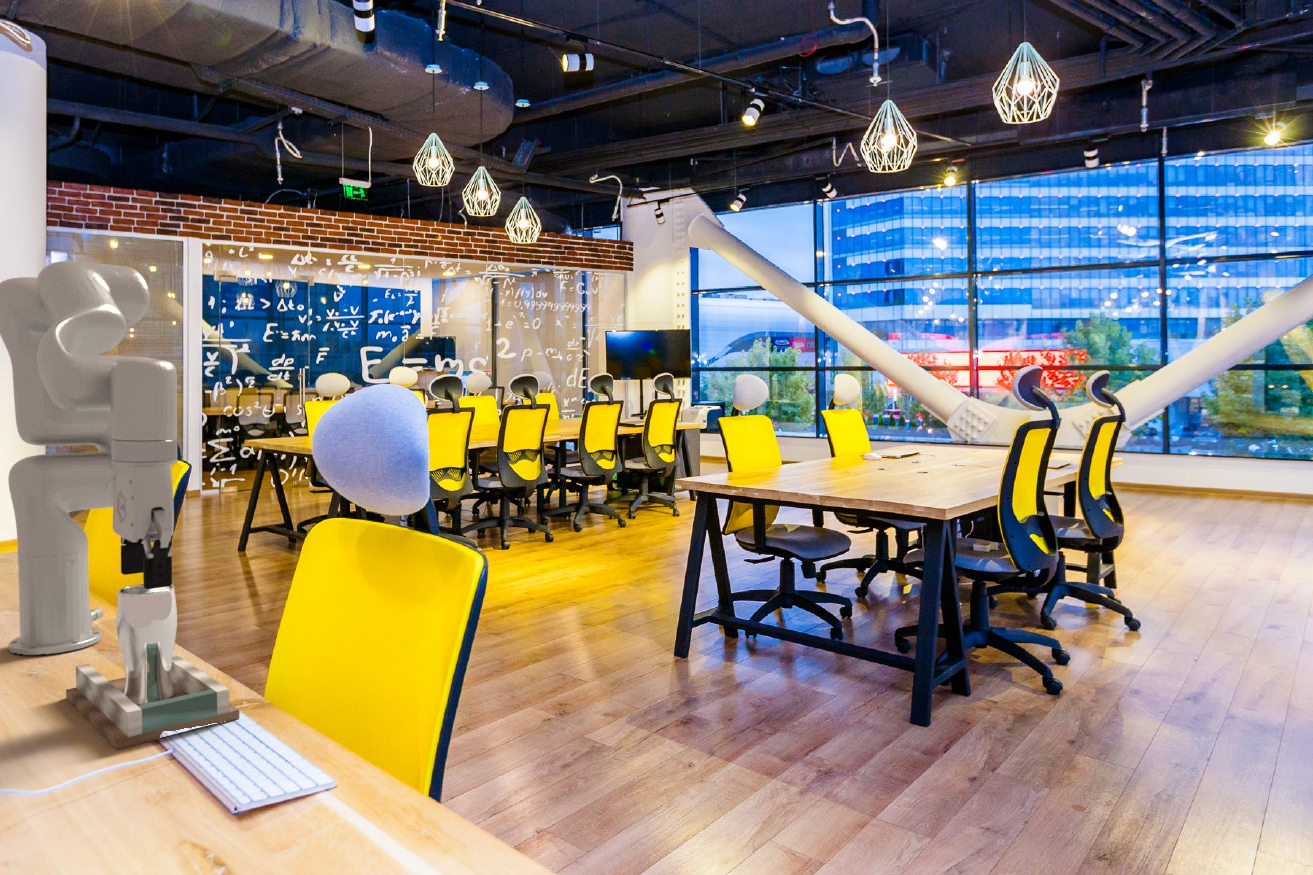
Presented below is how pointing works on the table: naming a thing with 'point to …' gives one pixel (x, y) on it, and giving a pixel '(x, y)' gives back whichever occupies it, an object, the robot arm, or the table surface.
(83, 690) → the track board
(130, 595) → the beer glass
